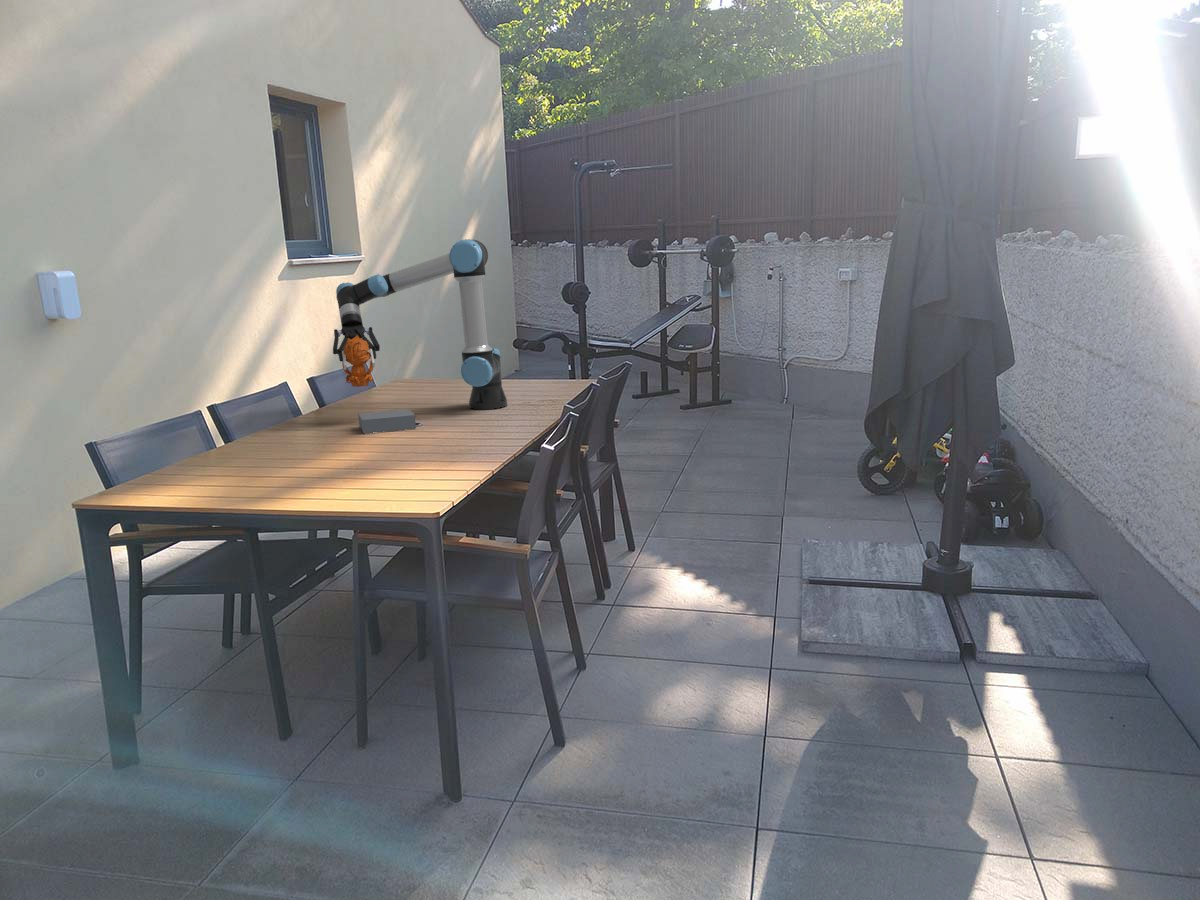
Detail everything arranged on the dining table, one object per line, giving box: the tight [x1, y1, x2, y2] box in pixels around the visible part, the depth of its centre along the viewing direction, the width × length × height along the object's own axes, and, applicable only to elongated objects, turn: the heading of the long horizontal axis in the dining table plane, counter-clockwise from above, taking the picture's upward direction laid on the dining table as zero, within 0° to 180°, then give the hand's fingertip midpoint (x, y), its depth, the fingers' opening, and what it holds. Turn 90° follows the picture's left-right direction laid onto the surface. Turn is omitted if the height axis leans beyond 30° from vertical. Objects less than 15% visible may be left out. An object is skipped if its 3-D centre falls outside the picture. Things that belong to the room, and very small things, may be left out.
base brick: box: [357, 408, 417, 435], centre depth 321 cm, size 18×14×5 cm
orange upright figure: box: [341, 336, 374, 388], centre depth 327 cm, size 11×11×18 cm
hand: (359, 366), depth 324 cm, fingers closed on orange upright figure, 9 cm apart
